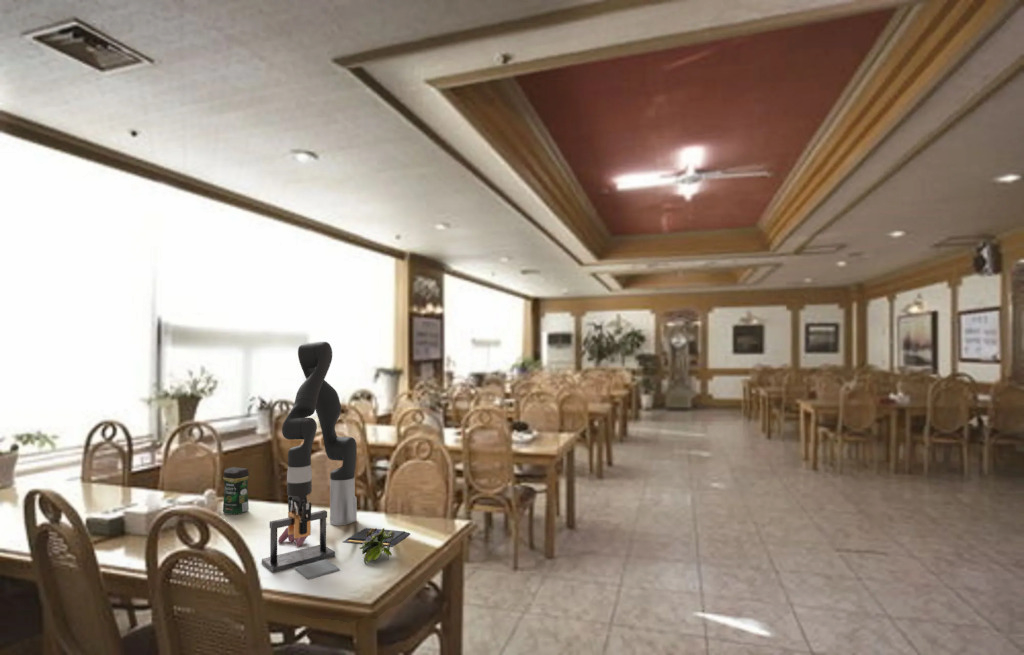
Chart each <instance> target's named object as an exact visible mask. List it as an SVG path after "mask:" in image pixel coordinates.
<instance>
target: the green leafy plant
mask: <svg viewBox="0 0 1024 655" xmlns="http://www.w3.org/2000/svg"><path fill="white" fill-rule="evenodd" d="M377 529H378V528H377V527H376V528H372V529H371V531H367V534H366V536H367V537H368V536H369V537H368V538H365V539H366V541H364V542H363V544H362V546H360V547H359V549H360V550H361V554H362V555H364V554H365V555H364V557H363V563H364V564H365V565H366V564H367V563H368V564H369V562H371V561H376V560H377V559H379V557H380V556H381V555H382V554H383V552H384V554H386V555H387V559H389V558H390V556H392V552H391V551H390V549H391V547H390V544H391V541H392V539H393V537H394V532H392V531H391V532H389V533H388V534H389V535H387V534H386V532H387V531H386V530H387V529H385V527H383V528H381V529H382V530H379V531H377V533H376V532H375V531H376V530H377ZM374 532H375V534H372V533H374ZM370 535H371V536H370ZM391 537H392V539H391V541H390V544H389V546H388V547H384V546H383V542H385V541H386V539H388V538H391Z"/></svg>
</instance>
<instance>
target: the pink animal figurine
mask: <svg viewBox="0 0 1024 655" xmlns="http://www.w3.org/2000/svg"><path fill="white" fill-rule="evenodd" d="M308 537H309V536H305V537H300V538H296V539H295V538H294V534H292V535H288V526H286V527H285V529H284V530H283V532H282V533H281V535H280V536H279V538H278V539H277V543H278V544H282V543H283V544H284V542H286V541H287V539H288V541H289V543H290V542H291V543H293V542H294V543H296V544H295V546H296V547H301V546H302V545H303V544H304V543H305V541H306V539H307V538H308Z"/></svg>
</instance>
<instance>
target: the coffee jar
mask: <svg viewBox="0 0 1024 655" xmlns="http://www.w3.org/2000/svg"><path fill="white" fill-rule="evenodd" d="M249 476H250V473H249V469H248V468H245V467H244V468H243V467H235V466H232V467H229V468H225V469H224V471H223V478H222V479H223V484H224V489H223V490H224V492H223V502H222V503H223V504H222V513H223V514H226V513H227V515H242V513H243V514H245V513H247V512H248V511H249V510H250V509H249V489H248V485H249V484H248V483H249V478H250V477H249Z"/></svg>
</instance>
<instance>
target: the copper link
mask: <svg viewBox="0 0 1024 655" xmlns="http://www.w3.org/2000/svg"><path fill="white" fill-rule="evenodd" d="M307 515H308V514H307ZM301 516H302V515H301ZM289 517H291V518H293V519H294V525H290V526H287V527H288V535H292V534H294V538H295V539H296V538H300V537H305V536H308V537H309V536H311V533H312V531H311V530H312V529H311V528H312V527H311V525H312V524H311V522H312V521H311V520H310V521H308V522H307V533H306V534H303V535H301V534H300V522H299V516H298V515H297V513H296V511H293V512H291V511H290V512H289V511H288V512H287V518H289Z"/></svg>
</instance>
